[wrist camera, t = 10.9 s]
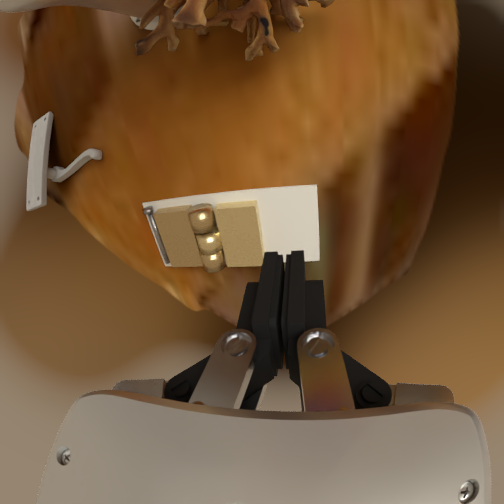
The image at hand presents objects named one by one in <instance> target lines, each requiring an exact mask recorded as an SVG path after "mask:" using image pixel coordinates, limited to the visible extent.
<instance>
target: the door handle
mask: <svg viewBox="0 0 504 504" xmlns="http://www.w3.org/2000/svg"><path fill="white" fill-rule="evenodd" d="M52 122H53V113H52V112H48V113H47V114H45V115H44V116H43V117H41V118H40V119H39V120H37V121H36V122H35V123H34V124H33V131H32V137H31V145H30V153H29V163H28V178H27V211H32V210H34V209H37V208H39V207H42V206H45V205H46V204H47V178H49V179H51V181H53V182H62V181H63V180H65V179H66V178H68V177H69V176H71V175H72V174H73V173H75V172H76V171H77V170H78V169H79V168H80V167H81V166H83V165H84V164H85V163H86V162H88V161H89V160H90V159H92V158H93V159H95V160H101V159H102V151H100V150H96V149H88V150H86V151H85V152H83V153H82V154H81V155H80V156H79V157H78V158H77V159H76V160H74V161H73V162H72V163H71V164H70V165H69V166H68V167H67V168H66V169H64V168H63V167H58V166H55V167H53V168H48V156H49V145H50V137H51V129H52Z"/></svg>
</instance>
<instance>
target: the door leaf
mask: <svg viewBox="0 0 504 504" xmlns="http://www.w3.org/2000/svg"><path fill="white" fill-rule="evenodd" d="M214 213H215V217H216V222H217V226H218V227H215V228H214V229H213V230H211V231H209V232H206V233H201V234H197V233H196V239H197V242H198V246H199V249H200V252H201V253H202V254H207V255H208V254H214V253H217V252H219V251H220V250H221V249H222V248H223V250H224V254H225V258H226V262H227V266H228V267H245V266H262V263H263V258H264V253H265V249H264V242H263V235H262V229H261V222H260V216H259V209H258V203H257V200H250V201H238V202H227V203H217V205H216V206H215V208H214Z"/></svg>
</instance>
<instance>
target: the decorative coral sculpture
mask: <svg viewBox="0 0 504 504" xmlns="http://www.w3.org/2000/svg"><path fill="white" fill-rule="evenodd" d="M213 1H214V0H157V2H156V3H155V4H154V5H153V6H152V7H151V8H150V9H149V10H148V11H147V13H146V14H145V15H144V16H143V17H142V18H141V22H140V26H139V29H144V28H145V27H146V26H147V25H148V24H149V23H150V22H151V21H152V20H153V19H154V18H155V17H156V16H159V21H158V25H157V26H156V28H155V29H154V30H153V31H152V32H151V33H150V34H149V35H147V36H146V37H145V38H144V39H141V40H139V41H137V42H136V44H135V45H134V46H135V49H136V55H137V56H139V55H142V54H145V53H147V52H149V51H150V50H151V48H152V47H153V45H154V44H155V43H156V42H157V41H158V40H159V39H161V38H164V37H165V38H166V39H167V44H168V50H169V51H175V50H176V48H177V46H178V44H179V42H180V39H179V38H178V37H177V36H176V35H175V33H174V27H176V28H177V29H196V30H195V31H196V33H197V34H198V35H207V33H208V31H209V30H207V27H210V26H227V25H228V24H229V21H227V20H224V19H232V25H231V28H233V29H236V30H237V31H239V32H241V33H243V31H244V29H245V27H246V25H247V42H248V43H250V44H251V43H252V42H253V43H252V44H251V45H250V46H249V47H247V48H246V50H245V59H246V60H253V59H254V57H255V56H263V52H264V51H263V46H264V44H265V45H267V46H268V48H269V49H270V51H271V52H276V51H277V50H279V47H278V45H277V43H276V41H275V39H274V37H273V27H272V22H271V18H270V14H269V10H268V6H267V2H266V1H267V0H244V2H243V5H242V6H239V7H238V9H236V10H228V5H227V3H228V1H229V0H218V1H219V6H218V10H219V11H220V12H219V13H218V14H217V15H216V16H215V17H213V18H211V19H209V20H208V19H206V17H205V14H204V11H205V10H206V8H207V7H208V5H209V4H210V3H211V2H213ZM269 1H270V3H271V6H272V8H271V9H270V12H271V13H272V14H273V15H282V16H284V18H285V20H286V22H287V24H288V26H289V28H290V30H291V31H293V32H298V33H300V31H301V30H302V28H303V26H304V24H303V20H304V19H303V18H301V17H299V10H298V8H297V7H298V6H299V5H301V6H307V7H309V3H308V1H317V2H319V3H321V7H324V8H326V7H327V6H329V5H330V4H332V2H333V1H334V0H269ZM183 5H184V6H183ZM182 6H183V8H182V9H181V11H180V12H179V14H178V15H177V16H176V17H175V18H174V15H175V13H176V12H177V11H178V9H179V8H180V7H182ZM256 17H257V20H258V31H257V37H256V38H255V40H254V37H255V27H256Z"/></svg>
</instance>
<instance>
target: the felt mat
mask: <svg viewBox="0 0 504 504" xmlns="http://www.w3.org/2000/svg"><path fill="white" fill-rule="evenodd" d="M250 200H257V203H258V209H259V216H260V222H261V229H262V235H263V242H264V249H265V252H275V251H277V252H278V255H283V261H284V262H286V254H291V251H297V250H304V261H319V222H318V199H317V185H301V186H285V187H272V188H260V189H249V190H238V191H228V192H219V193H210V194H202V195H194V196H186V197H179V198H172V199H165V200H158V201H151V202H145V203H143V207H144V208H145V207H148V206H152V207H153V210H154V211H153V213H155V212H156V211H157V210H158V209H159V208H167V207H175V206H183V205H191V204H192V206H194V205H197V204H201V203H210V204H211V205H212V208H213V212H214V208H215V206H216V205H217V203H227V202H238V201H250ZM146 216H147V219H148V221H149V224H150V227H151V230H152V232H153V235H154V238H155V241H156V243H157V246H158V249H159V251H160V254H161V256H162V259H163V261H164V264H165V266H171V263H169V264H166V263H165V260H164V258H163V255H162V253H161V250H160V247H159V245H158V242H157V239H156V237H155V234H154V231H153V228H152V226H151V223H150V220H149V217H148V214H147V215H146ZM214 216H215V213H214ZM215 220H216V217H215ZM216 224H217V222H216ZM216 227H218V226H217V225H216ZM223 252H224V250H223ZM224 256H225V254H224ZM225 260H226V258H225ZM226 264H227V262H226Z"/></svg>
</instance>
